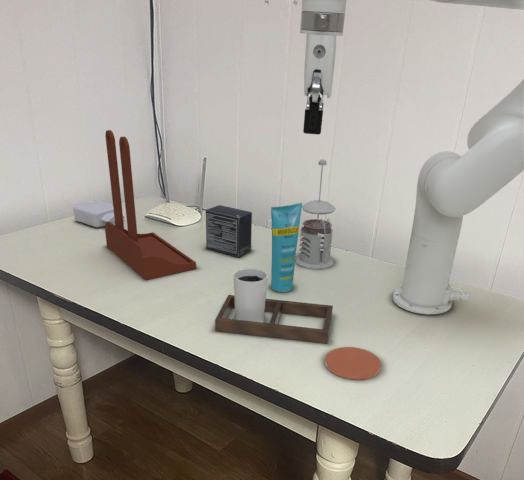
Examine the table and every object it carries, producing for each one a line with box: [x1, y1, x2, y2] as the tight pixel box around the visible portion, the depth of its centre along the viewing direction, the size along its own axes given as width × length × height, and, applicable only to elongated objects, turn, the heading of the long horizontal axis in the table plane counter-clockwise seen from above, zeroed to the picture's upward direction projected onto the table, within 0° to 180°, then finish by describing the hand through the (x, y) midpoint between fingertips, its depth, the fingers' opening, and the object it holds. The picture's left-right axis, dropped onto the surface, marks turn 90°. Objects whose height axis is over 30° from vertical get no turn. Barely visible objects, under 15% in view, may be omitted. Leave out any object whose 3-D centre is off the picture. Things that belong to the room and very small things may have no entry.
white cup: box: [233, 267, 269, 323], centre depth 112 cm, size 7×7×10 cm
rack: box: [214, 294, 334, 344], centre depth 113 cm, size 22×12×2 cm, turn 80°
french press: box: [295, 158, 336, 270], centre depth 135 cm, size 10×12×25 cm
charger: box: [73, 199, 125, 229], centre depth 160 cm, size 5×9×15 cm
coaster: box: [324, 346, 382, 381], centre depth 101 cm, size 10×10×1 cm
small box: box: [205, 204, 253, 258], centre depth 145 cm, size 11×6×10 cm, turn 58°
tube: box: [270, 202, 303, 293], centre depth 123 cm, size 7×5×19 cm, turn 123°
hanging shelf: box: [104, 129, 197, 281], centre depth 133 cm, size 24×13×30 cm, turn 34°
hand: (312, 128), depth 107 cm, fingers open, 9 cm apart
